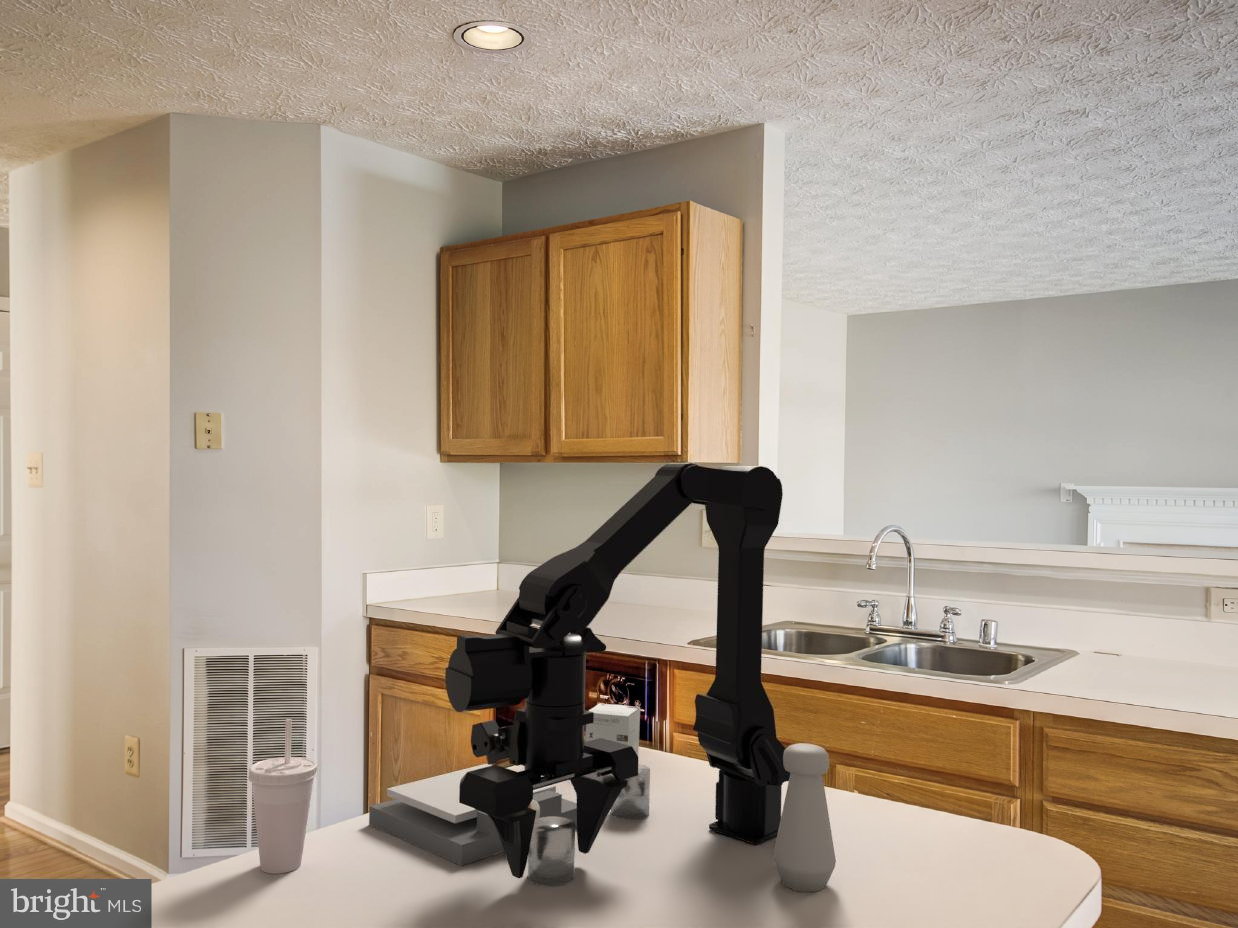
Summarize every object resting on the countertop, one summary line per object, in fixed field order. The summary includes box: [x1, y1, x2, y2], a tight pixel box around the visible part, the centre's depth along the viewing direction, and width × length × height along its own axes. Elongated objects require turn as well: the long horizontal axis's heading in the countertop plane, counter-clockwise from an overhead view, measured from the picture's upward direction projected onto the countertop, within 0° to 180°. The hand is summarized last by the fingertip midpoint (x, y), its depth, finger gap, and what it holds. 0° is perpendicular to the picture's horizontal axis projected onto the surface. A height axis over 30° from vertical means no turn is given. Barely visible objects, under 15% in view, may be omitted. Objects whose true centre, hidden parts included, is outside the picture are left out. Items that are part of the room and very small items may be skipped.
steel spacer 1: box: [527, 816, 576, 887], centre depth 95 cm, size 4×4×5 cm
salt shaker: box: [773, 742, 837, 893], centre depth 95 cm, size 6×6×13 cm
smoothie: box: [247, 718, 318, 875], centre depth 96 cm, size 6×6×14 cm
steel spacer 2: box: [610, 763, 651, 821], centre depth 114 cm, size 4×4×5 cm
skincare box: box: [584, 702, 641, 756], centre depth 133 cm, size 6×6×7 cm
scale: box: [368, 763, 577, 867], centre depth 109 cm, size 16×17×5 cm
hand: (551, 864), depth 95 cm, fingers open, 8 cm apart
